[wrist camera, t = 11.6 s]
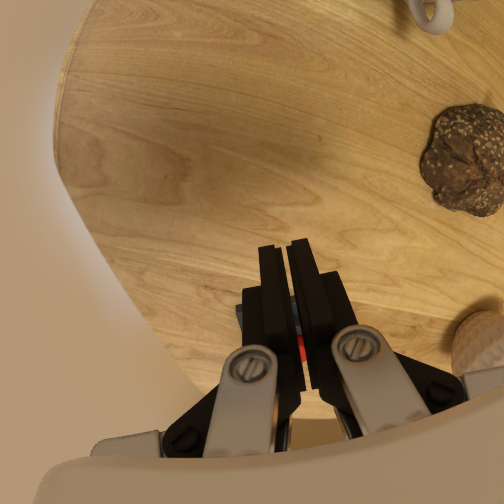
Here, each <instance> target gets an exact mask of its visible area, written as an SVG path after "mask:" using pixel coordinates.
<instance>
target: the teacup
mask: <svg viewBox="0 0 504 504" xmlns="http://www.w3.org/2000/svg"><path fill="white" fill-rule="evenodd" d="M454 1H461V0H405V2H406V3H407V4H408V6H409V9H410V12H411V15H412V18H413V20H414V22H415V23H416V25H417V26H418V27H419V28H420V29H421V30H423V31H425V32H427V33H430V34H433V35H441V34H444V33H446V32H447V31H448V30H449V29H450V27H451V26H452V24H453V20H454V7H453V4H452V2H454ZM424 2H426V3H435V6H436V9H435V13H434V16H433V18H432V19H431V20H430V21H429V19H428V17H427V14H426V11H425V8H424V4H423V3H424Z"/></svg>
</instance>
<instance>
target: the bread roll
mask: <svg viewBox="0 0 504 504" xmlns="http://www.w3.org/2000/svg"><path fill="white" fill-rule="evenodd" d="M421 172H422V175H423V178H424V179H425V181H426V183H427V184H428V185H429V186H430V187H431V188H433V189H435V197H436V198H435V200H436V202H437V203H438V205H441V206H443V207H445V208H447V209H449V210H451V211H453V212H456V211H458V210H464V211H466V212H468V213H469V214H472V215H474V216H478V217H485V216H490V215H492V214H494V213H496V212H497V211H498V210H499V209H500V207H501V206H502V204H503V202H504V114H503V113H502V112H500V111H499V110H495V109H494V108H490V107H484V105H482V104H478V105H471V106H470V105H469V106H467V107H462V106H461V107H456V108H451V109H448V110H447V111H445V112H444V113H442V114H441V115H440V117H439V118H438V120H437V122H436V124H435V130H434V136H433V141H432V144H431V146H430V149H429V150H428V151H427V152H426V154H425V155H424V157H423V160H422V163H421Z"/></svg>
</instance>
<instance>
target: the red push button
mask: <svg viewBox="0 0 504 504" xmlns="http://www.w3.org/2000/svg"><path fill="white" fill-rule="evenodd" d="M297 337H298V343H299V349H300V354H301V360H302V363H303V362H304V361H305V360H306V354H305V348H304V343H303V338H302V336H300V335H297Z"/></svg>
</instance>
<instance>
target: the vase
mask: <svg viewBox="0 0 504 504" xmlns="http://www.w3.org/2000/svg"><path fill="white" fill-rule="evenodd" d="M503 365H504V314H501V313H498V312H494V311H478V312H475V313H473V314H471V315H470V316H468V317H467V318H466V319H465V320H464V321H463V322H462V323H461V324H460V325H459V327H458V328H457V330H456V333H455V336H454V340H453V344H452V351H451V367H452V373H453V375H454V376H456V377H458V376H462V374H463V373H464V372H470V371H476V370H482V369H488V368H493V367H498V366H503Z"/></svg>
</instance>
